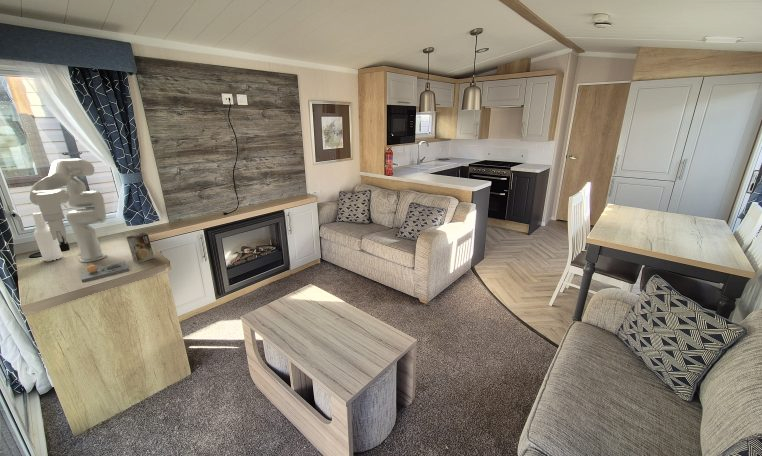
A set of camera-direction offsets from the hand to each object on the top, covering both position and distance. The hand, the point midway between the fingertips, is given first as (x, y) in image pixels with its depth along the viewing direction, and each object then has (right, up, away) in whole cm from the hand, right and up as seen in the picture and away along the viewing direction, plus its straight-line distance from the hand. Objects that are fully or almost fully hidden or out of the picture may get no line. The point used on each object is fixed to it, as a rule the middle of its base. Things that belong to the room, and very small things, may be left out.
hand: (65, 250), depth 165 cm
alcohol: (-40, -8, +33) cm, 52 cm away
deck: (+9, -13, +13) cm, 21 cm away
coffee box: (+19, -8, +30) cm, 36 cm away
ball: (+6, -11, +9) cm, 15 cm away
